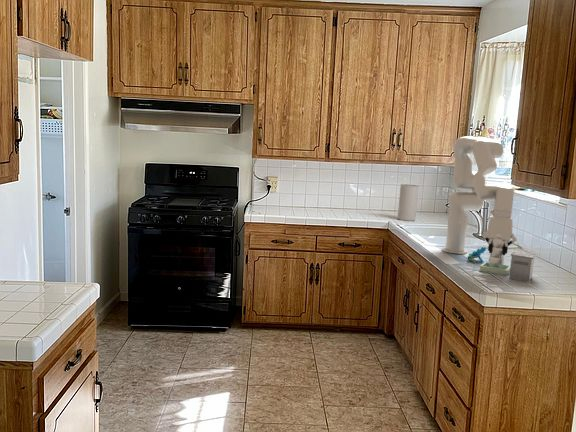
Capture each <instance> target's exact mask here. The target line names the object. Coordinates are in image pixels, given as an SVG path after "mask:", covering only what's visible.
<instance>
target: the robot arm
mask: <svg viewBox="0 0 576 432" xmlns="http://www.w3.org/2000/svg"><path fill="white" fill-rule="evenodd" d="M453 154H454V155H453V156H454V169H453V186H454V188H456V189H459V190H471V191H454V192H452V193H450V195H449V197H448V220H447V231H446V239H445V246H444V247H442V249H441V250H442V251H443V252H445V253H448V254H449V253H450V254H456V255H465V254H467V253H468V250H467V249H465V245H466V236H467V228H468V217H467V214H466V212H465V211H475V212H476V211H480V210H481V209H482V208H483V205H484V201H494V203H493V209H492V210H491V209H490V211H489V213H490V214H492V215H490V218H489V222H488V227H487V230H486V231H485V232H484V233H483V234H481V237H482V238H483V239H484V240H485V241H486V242H487V243H488V246H487V251H488V253H489V254H491V250H492V239H495V235H496V234H498V233H499V234H501V236H502V240H505V246H504V249H503V255H504V256H506V254H508V249H509V246H511V245H512V244H513V243H514V244H515V242H517V241H518V239H517V238H516V236H515V235H514V233H513V228H514V227H513V226H514V225H513V218H512V211H513V204H514V203H513V202H514V196H515V195H514V193H515V189H514V188H513V187H511V186H506V185H505V184H494V183H493V184H492V183H486V177H485V176H487V175H489V174H491V173H492V172H495V171H496V169H497V167H498V166H497V165H498V163H497V161H496V159H499V158H501V157H502V156H503V154H504V146H503V144H502V142H501V141H499V140H496V139H492V138H490V137H489V138H487V137H476V136H461V137H458V138H457V139H456V140H455V142H454V146H453ZM470 155H473V156H474V159H475V164H476V166H477V170H476V171H475V170H473V161H472V158H471V156H470ZM511 239H512V240H511Z"/></svg>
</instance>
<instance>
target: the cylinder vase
mask: <svg viewBox="0 0 576 432" xmlns="http://www.w3.org/2000/svg"><path fill="white" fill-rule="evenodd" d="M419 188H420V187H419V185H415V184H403V183H402V184H400V189H399V199H398V211H397V219H398V220H400V221H403V222H414V221H416V216H417V207H418V196H419Z"/></svg>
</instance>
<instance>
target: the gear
mask: <svg viewBox="0 0 576 432" xmlns="http://www.w3.org/2000/svg"><path fill="white" fill-rule="evenodd" d="M486 250H487V247H486V246H484V247H483V246H481V247H480V248H477V249H476V251H475V250H474V251H472V253H469V254H468V256H467V260H472V261H473V262H477V261H476V259H477V258H478V259H479V261H480V263H484V260H483V259H482V257H481V254H483V253H485V251H486Z"/></svg>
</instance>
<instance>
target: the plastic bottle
mask: <svg viewBox="0 0 576 432" xmlns="http://www.w3.org/2000/svg"><path fill="white" fill-rule="evenodd" d="M504 246H505V240H502V236H501V234H499V233H498V234H496V235H495V239H492V250H491V253H489V254H490V256H489V258H488V262H489V265H490V266H492V267H495V268H501V267H503V265H505V257H504V256H505V255H503V249H504Z"/></svg>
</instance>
